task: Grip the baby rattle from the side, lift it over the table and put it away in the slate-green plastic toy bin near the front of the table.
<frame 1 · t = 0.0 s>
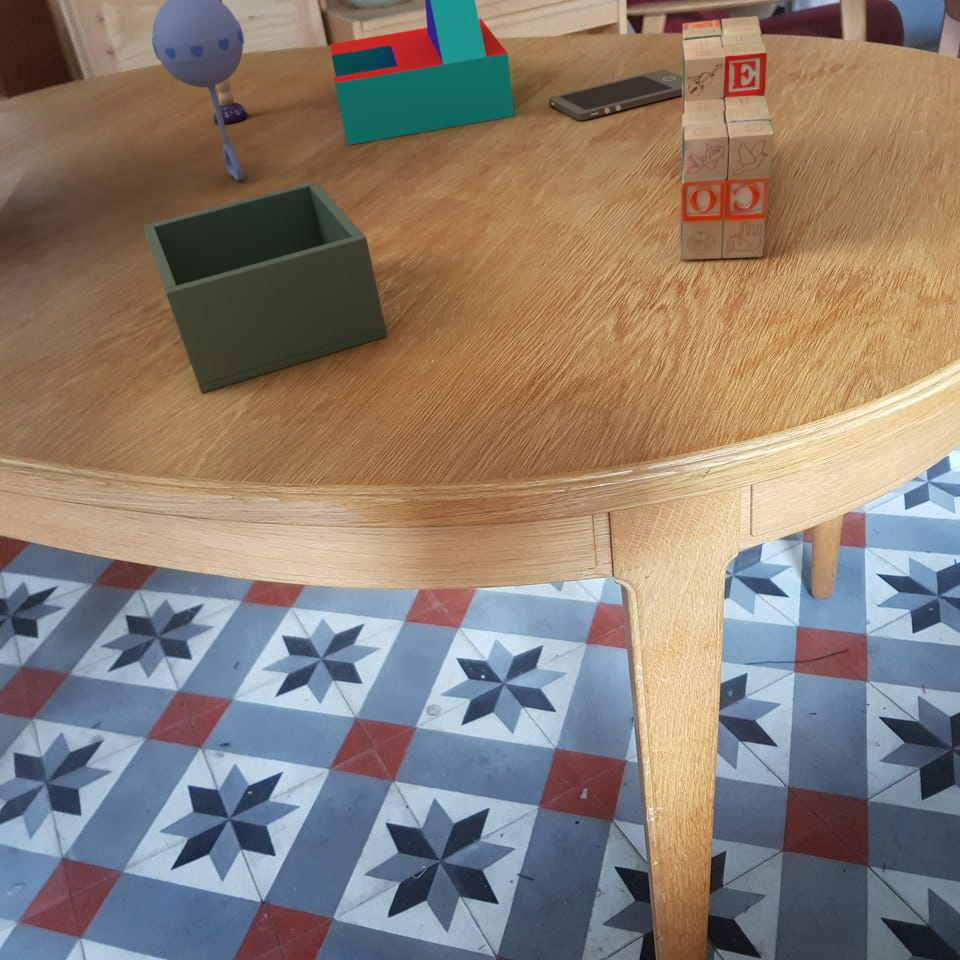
stack of blocks: (719, 207, 79), on the table
smartphone: (623, 99, 106), on the table
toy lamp: (233, 119, 120), on the table
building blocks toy: (420, 102, 115), on the table
toy bin: (275, 325, 72), on the table
baby rattle: (238, 181, 100), on the table
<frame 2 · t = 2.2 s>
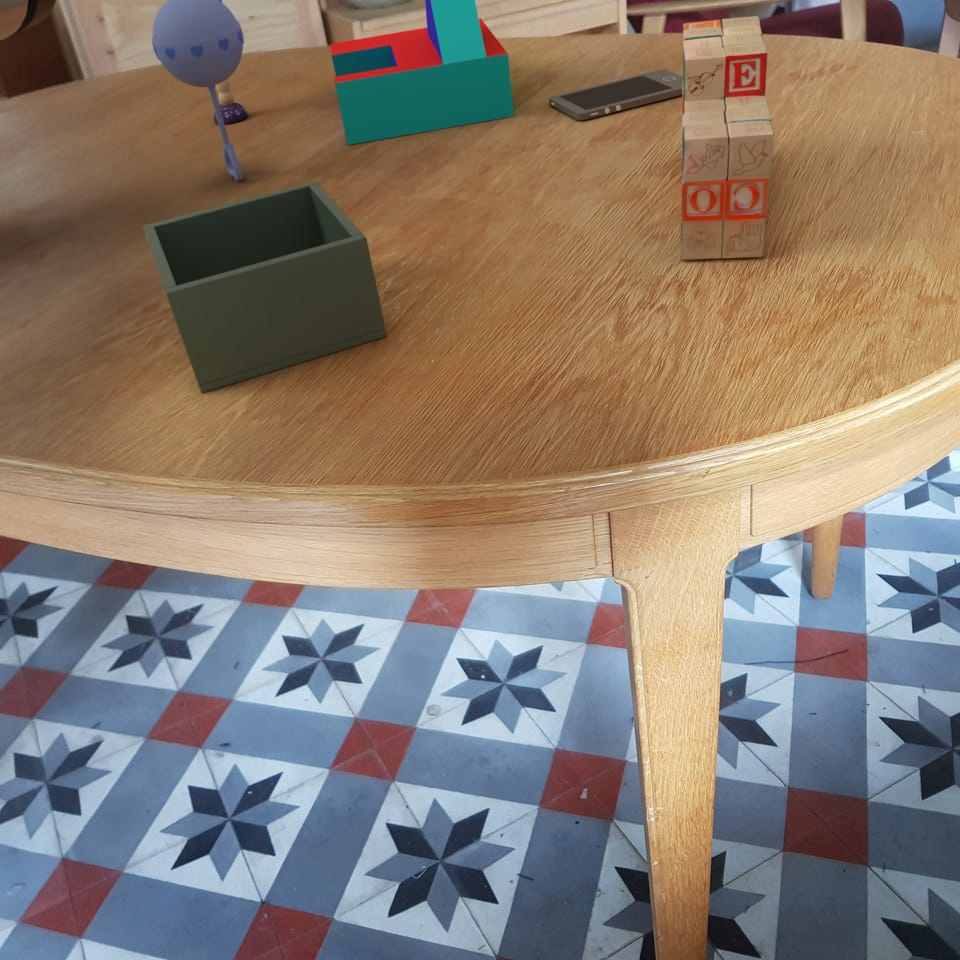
nothing on the table moved.
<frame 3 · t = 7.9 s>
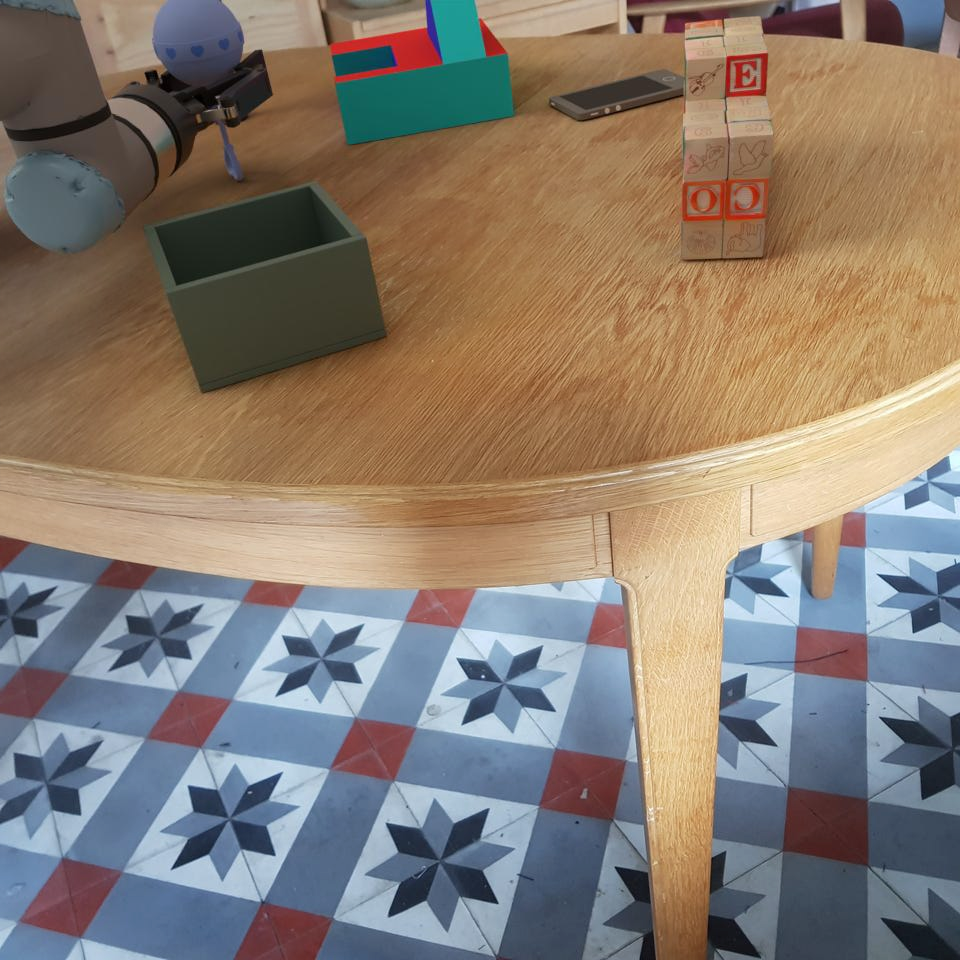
hand: (226, 67, 98), 10 cm above the table, tool horizontal, fingers closed on baby rattle, 7 cm apart
baby rattle: (238, 181, 100), on the table, touching gripper
everything else where it was.
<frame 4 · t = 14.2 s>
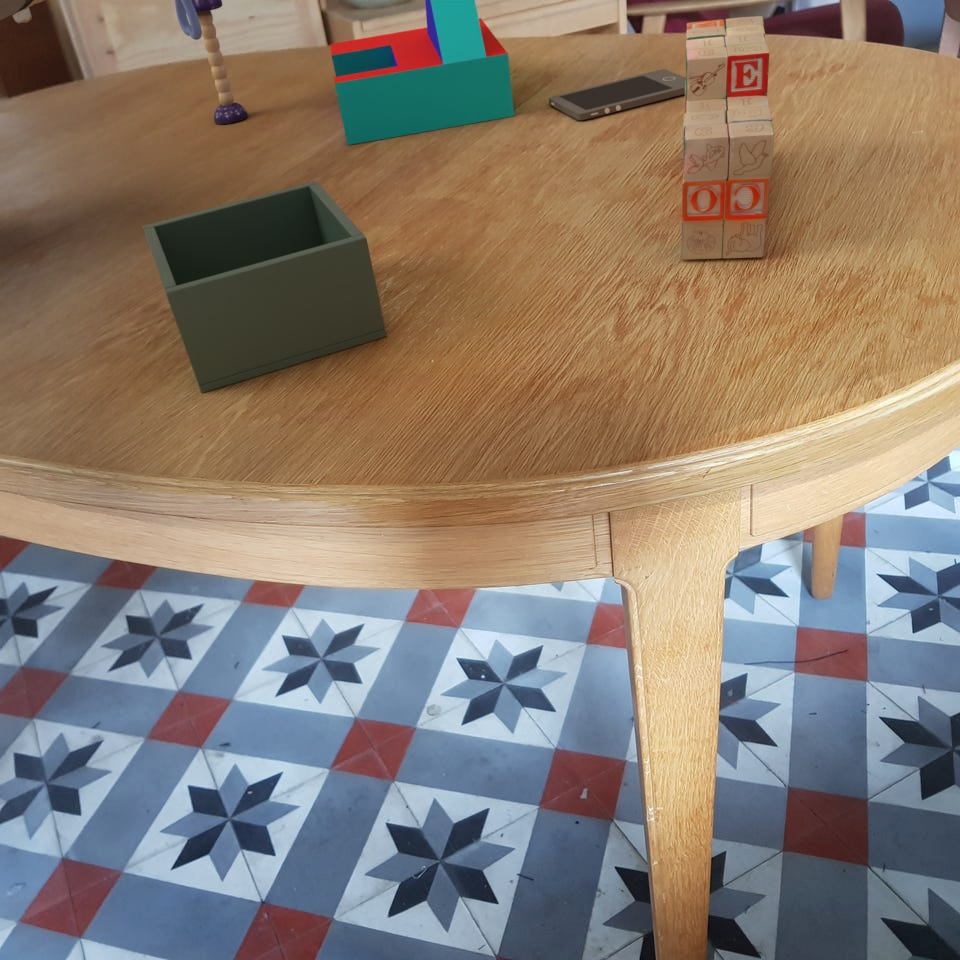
baby rattle: (196, 41, 71), point 18 cm above the table, touching gripper
everything else where it was.
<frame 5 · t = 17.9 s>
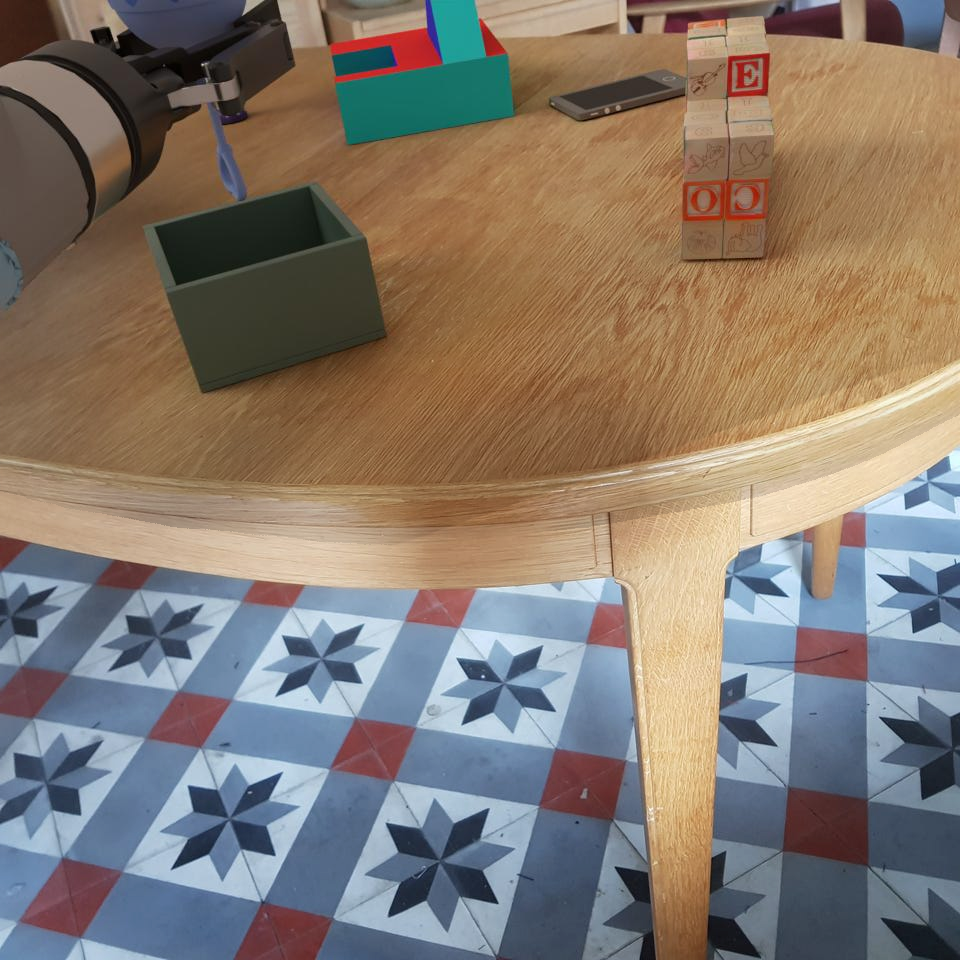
hand: (222, 26, 64), 20 cm above the table, tool horizontal, fingers closed on baby rattle, 7 cm apart
baby rattle: (240, 201, 66), point 10 cm above the table, touching gripper
everything else where it was.
when the fingers open (11 cm above the table, at t = 20.9 s): baby rattle stays where it is, resting on toy bin.
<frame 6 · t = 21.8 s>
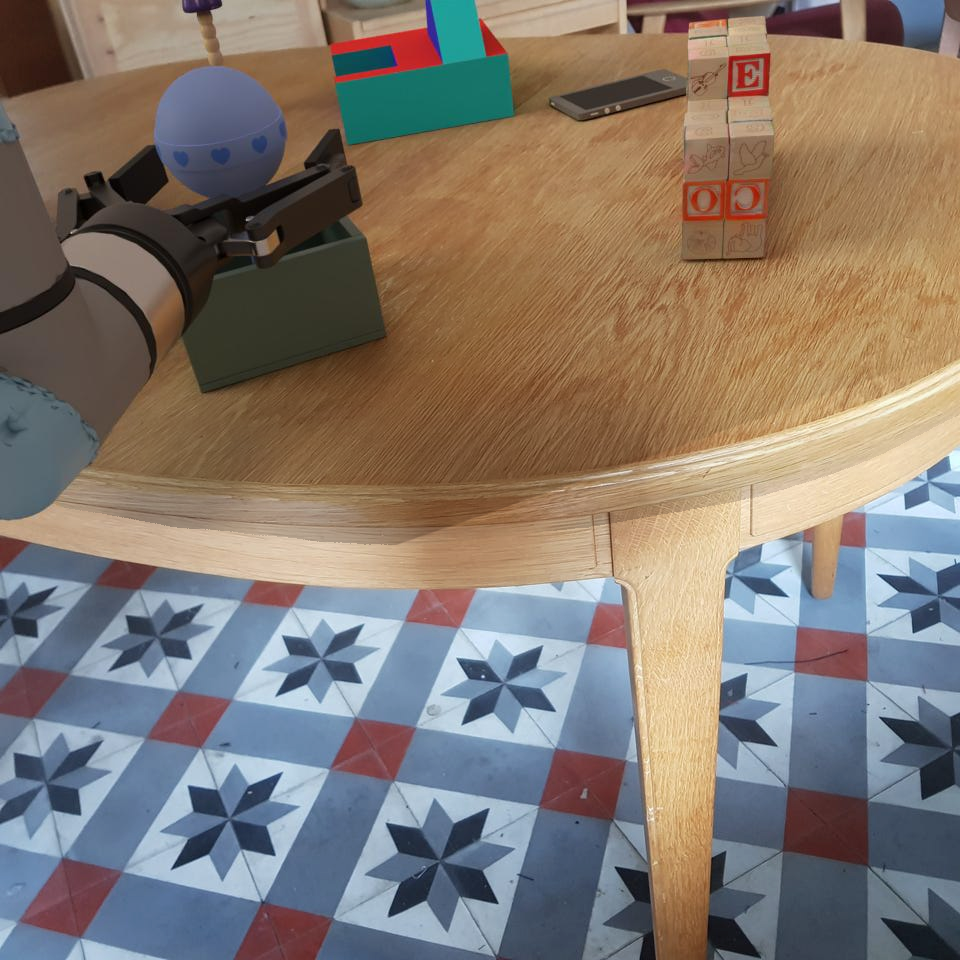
hand: (247, 155, 67), 12 cm above the table, tool horizontal, fingers open, 13 cm apart
baby rattle: (274, 321, 72), resting on toy bin
everything else where it was.
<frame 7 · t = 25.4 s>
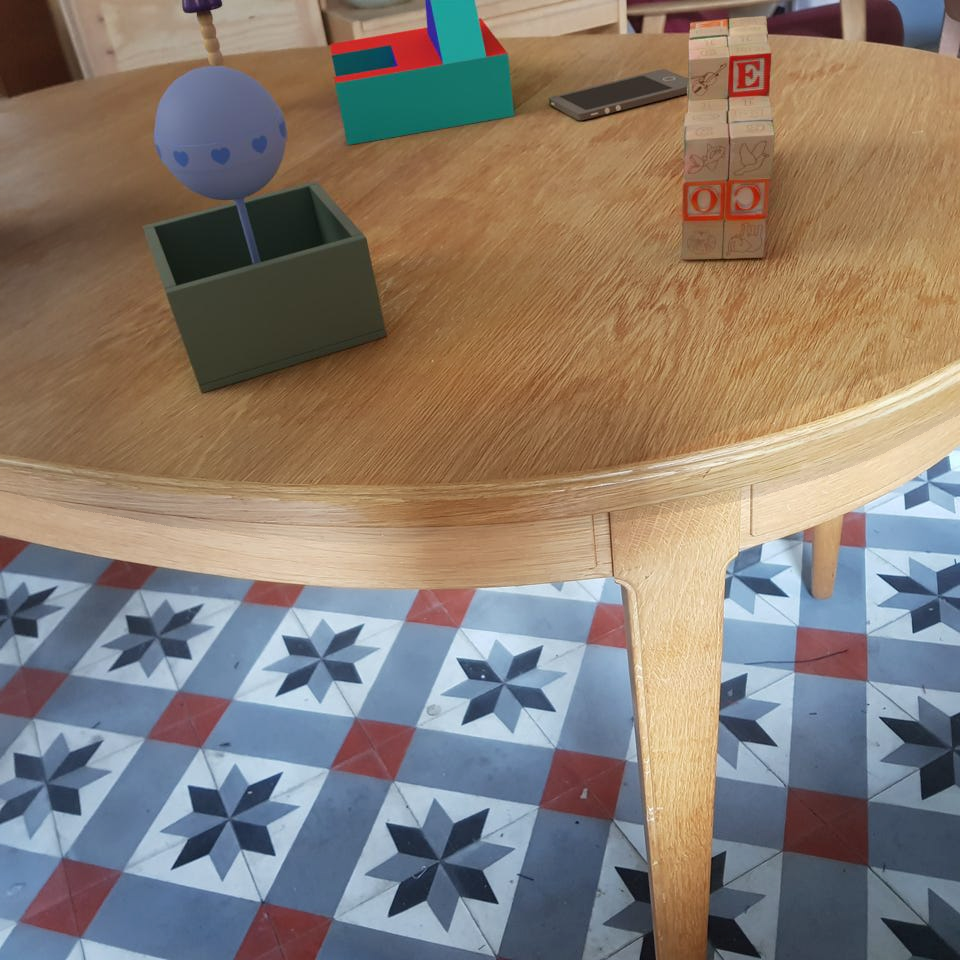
nothing on the table moved.
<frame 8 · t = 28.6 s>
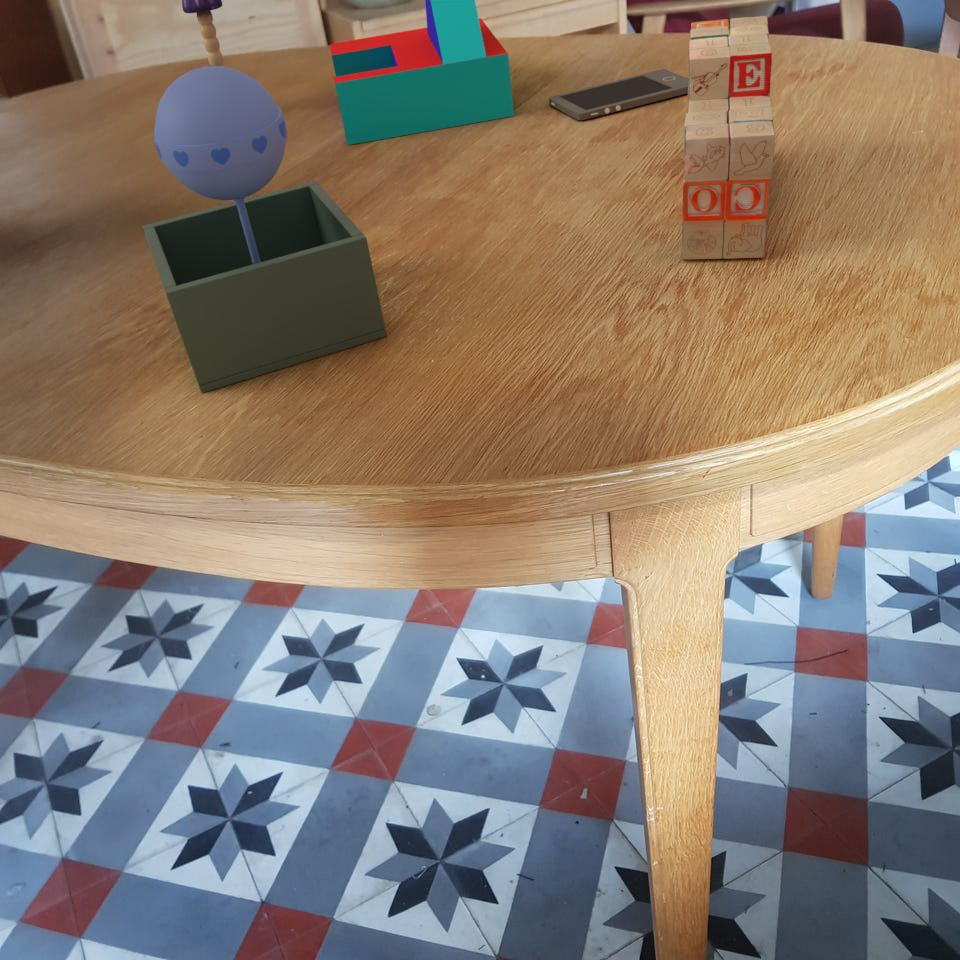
nothing on the table moved.
at the end: baby rattle inside the target area in the toy bin (0.1 cm from its centre), point 0.4 cm above the toy bin's base; the gripper is holding nothing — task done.
